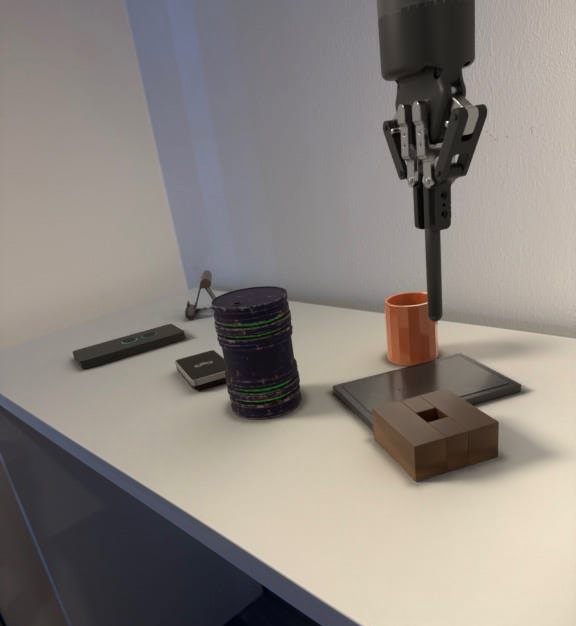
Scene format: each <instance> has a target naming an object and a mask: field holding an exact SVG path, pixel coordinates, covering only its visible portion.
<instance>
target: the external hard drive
mask: <svg viewBox="0 0 576 626" xmlns="http://www.w3.org/2000/svg"><path fill="white" fill-rule="evenodd" d="M174 365H175V368H176V371H178V373H179V374H180V375H181V376H182V377H183V379H184V380H185V381H186V382H187V384H188V385H190V387H191V388H192V389H193V390H194V391H199V390H202V389H207V388H209V387H212V386H216V385H219V384H222V383H227V382H226V377H225V370H226V367H225V362H224V357H223V355H221V354H220V353H219V352H217V351H216V350H215V349H211V350H207V351H204V352H200V353H195V354H192V355H189V356H185V357H181V358H177V359H175V360H174Z"/></svg>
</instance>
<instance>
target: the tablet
mask: <svg viewBox="0 0 576 626" xmlns="http://www.w3.org/2000/svg"><path fill="white" fill-rule="evenodd" d="M445 388H447V389H448V390H450V391H451V392H453V393H454V394H456V395H458V396H459V397H461V398H462V399H464V400H465V401H467V402H468V403H470V404H471V405H473V406H475V405H478V404H481V403H485V402H488V401H492V400H497V399H499V398H502V397H503V398H504V397H506V396H509V395H513V394H517V393H520V392H522V383H519V382H517V381H516V380H514V379H512V378H510V377H508V376H506V375H504V374H502V373H500V372H498V371H496V370H495V369H492V368H490V367H488V366H486V365H485V364H483V363H481V362H479V361H478V360H475V359H473V358H471V357H469V356H467V355H466V354H463V353H461V352H459V353H455V354H452V355H447V356H443V357H440V358H436V359H435V360H431V361H427V362H423V363H420V364H416V365H412V366H403V367H400V368H397V369H392V370H388V371H385V372H381V373H377V374H373V375H370V376H366V377H361V378H357V379H354V380H350V381H346V382H342V383H338V384H335V385H332V392H333V393H334V394H335V396H337V397H338V398H339V400H341V402H342V403H344V404H345V406H347V407H348V408H349V409H350V410H351V411H352V412H353V413H354V414H355V415H356V416H357V417H358V418H359V419H360V421H362V422H363V423H364V424H365V425H366V426H367V427H368V428H369V429H370V430H371V431H372V432H373V433H374V431H373V419H372V408H375V407H379V406H383V405H386V404H390V403H394V402H397V401H401V400H405V399H409V398H412V397H416V396H420V395H423V394H427V393H431V392H434V391H438V390H442V389H445Z"/></svg>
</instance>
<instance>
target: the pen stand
mask: <svg viewBox="0 0 576 626" xmlns="http://www.w3.org/2000/svg"><path fill="white" fill-rule="evenodd" d="M372 419H373V431H374V432H373V431H372V432H373V440H374V441H375V442H376V443H377V444H378V445H379V446H380V447H381V448H382V450H384V451H385V453H387V455H389V456H390V457H391V458H392V460H393V461H395V462H396V464H398V466H400V467H401V468H402V469H403V470H404V471H405V473H406V474H408V476H410V477H411V478H412V480H413V481H414V482H419V481H423V480H427V479H429V478H432V477H436V476H439V475H442V474H445V473H449V472H452V471H454V470H455V471H456V470H458V469H462V468H465V467H468V466H472V465H474V464H477V463H481V462H483V461H487V460H490V459H493V458H497V457H498V456H499V431H500V422H499V421H498V420H497V419H494V418H493V417H492V416H491V415H489V414H487V413H486V412H484V411H483V410H481V409H480V408H478V407H476V406H475V405H471V404H470V403H468V402H467V401H465V400H464V399H462V398H461V397H459V396H458V395H456V394H454V393H453V392H451V391H450V390H448V389H447V388H445V389H442V390H438V391H434V392H431V393H427V394H423V395H420V396H416V397H412V398H409V399H405V400H401V401H397V402H394V403H390V404H386V405H383V406H379V407H375V408H372Z"/></svg>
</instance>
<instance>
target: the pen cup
mask: <svg viewBox="0 0 576 626" xmlns="http://www.w3.org/2000/svg"><path fill="white" fill-rule="evenodd" d="M383 307H384V323H385V324H384V325H385V337H386V353H387V360H388V361H389V362H390V363H392V364H394V365H396V366H397V365H398V366H403V367H408V366H412V365H416V364H420V363H423V362H427V361H431V360H435V359H438V356H439V329H438V328H439V327H438V326H439V325H438V324H439V321H436V322H434V321H431V320H430V319H429V317H428V304H427V291H426V292H425V291H408V292H400V293H396V294H392V295H390V296H387V297H386V298H385V299H384V300H383Z"/></svg>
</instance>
